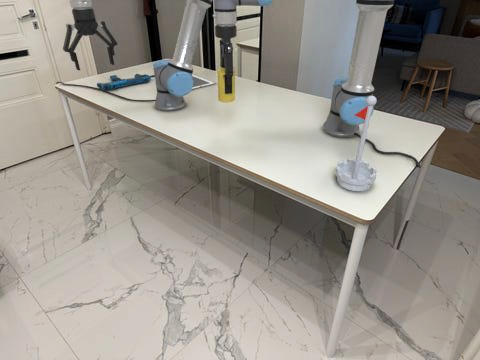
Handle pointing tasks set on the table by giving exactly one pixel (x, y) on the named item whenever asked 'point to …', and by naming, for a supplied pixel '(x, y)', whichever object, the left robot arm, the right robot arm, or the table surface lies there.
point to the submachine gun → (123, 81)
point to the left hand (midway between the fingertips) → (95, 66)
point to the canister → (221, 86)
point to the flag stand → (358, 159)
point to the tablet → (200, 82)
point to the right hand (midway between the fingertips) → (226, 90)
